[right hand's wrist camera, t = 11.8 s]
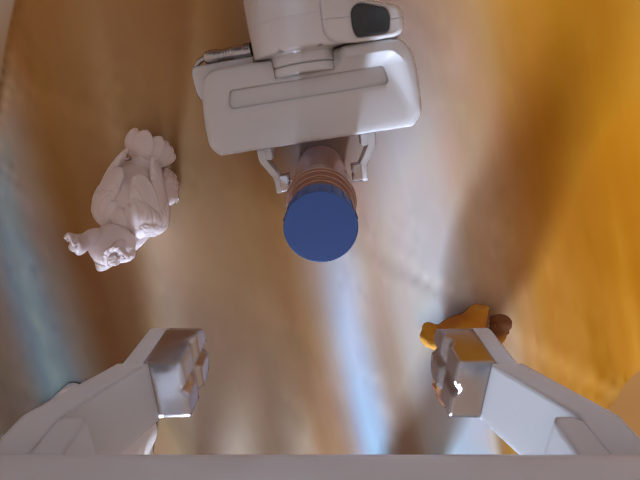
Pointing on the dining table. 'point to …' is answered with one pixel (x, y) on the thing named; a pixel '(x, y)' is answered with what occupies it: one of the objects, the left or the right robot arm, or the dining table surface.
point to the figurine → (130, 201)
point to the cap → (320, 223)
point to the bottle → (320, 172)
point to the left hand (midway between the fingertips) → (322, 186)
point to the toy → (466, 320)
